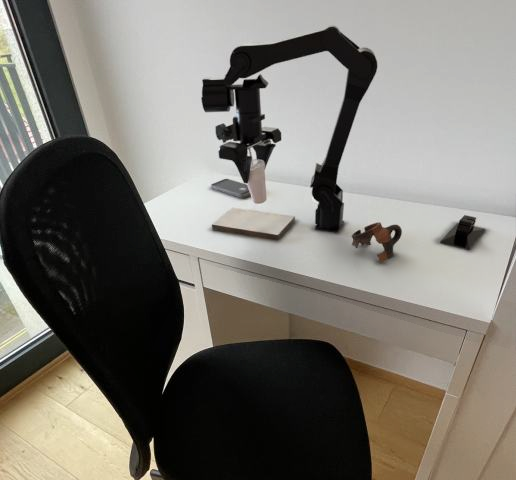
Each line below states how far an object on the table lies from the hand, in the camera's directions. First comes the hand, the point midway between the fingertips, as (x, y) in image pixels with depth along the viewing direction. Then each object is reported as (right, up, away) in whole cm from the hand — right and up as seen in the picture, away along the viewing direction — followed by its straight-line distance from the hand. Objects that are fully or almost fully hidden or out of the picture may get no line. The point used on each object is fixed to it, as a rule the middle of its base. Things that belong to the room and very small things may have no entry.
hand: (253, 178), depth 105 cm
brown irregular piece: (+30, -21, -7) cm, 37 cm away
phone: (-7, +8, +29) cm, 31 cm away
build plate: (+52, -16, -3) cm, 55 cm away
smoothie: (+2, -4, +4) cm, 6 cm away
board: (0, -10, +8) cm, 13 cm away
